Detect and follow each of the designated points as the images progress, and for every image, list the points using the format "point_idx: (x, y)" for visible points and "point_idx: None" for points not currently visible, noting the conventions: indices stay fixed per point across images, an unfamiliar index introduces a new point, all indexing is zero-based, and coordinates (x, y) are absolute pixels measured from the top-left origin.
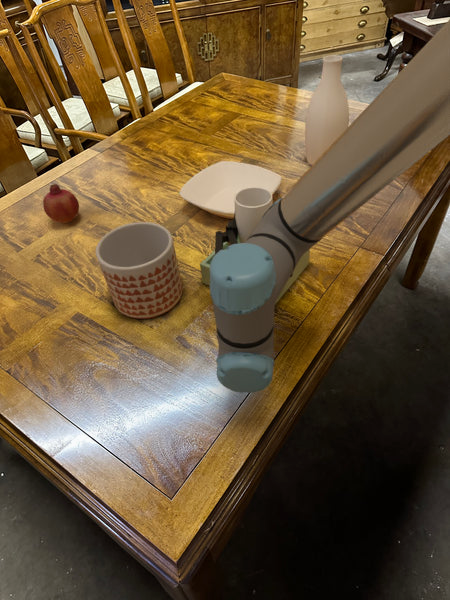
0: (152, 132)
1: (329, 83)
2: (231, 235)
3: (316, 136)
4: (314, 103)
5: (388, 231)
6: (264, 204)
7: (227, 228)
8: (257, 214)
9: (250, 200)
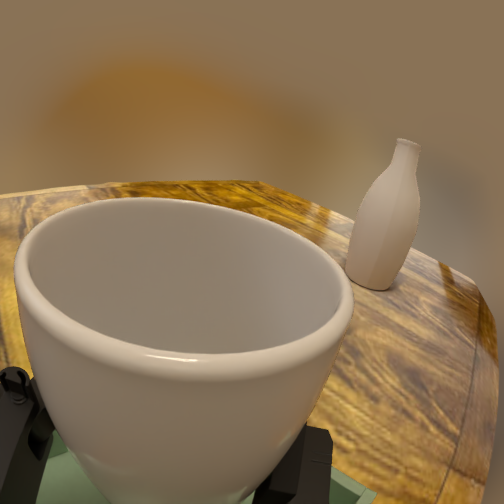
0: (157, 190)
1: (403, 169)
2: (2, 434)
3: (373, 236)
4: (379, 188)
5: (483, 427)
6: (265, 358)
7: (7, 383)
8: (141, 439)
9: (193, 284)
